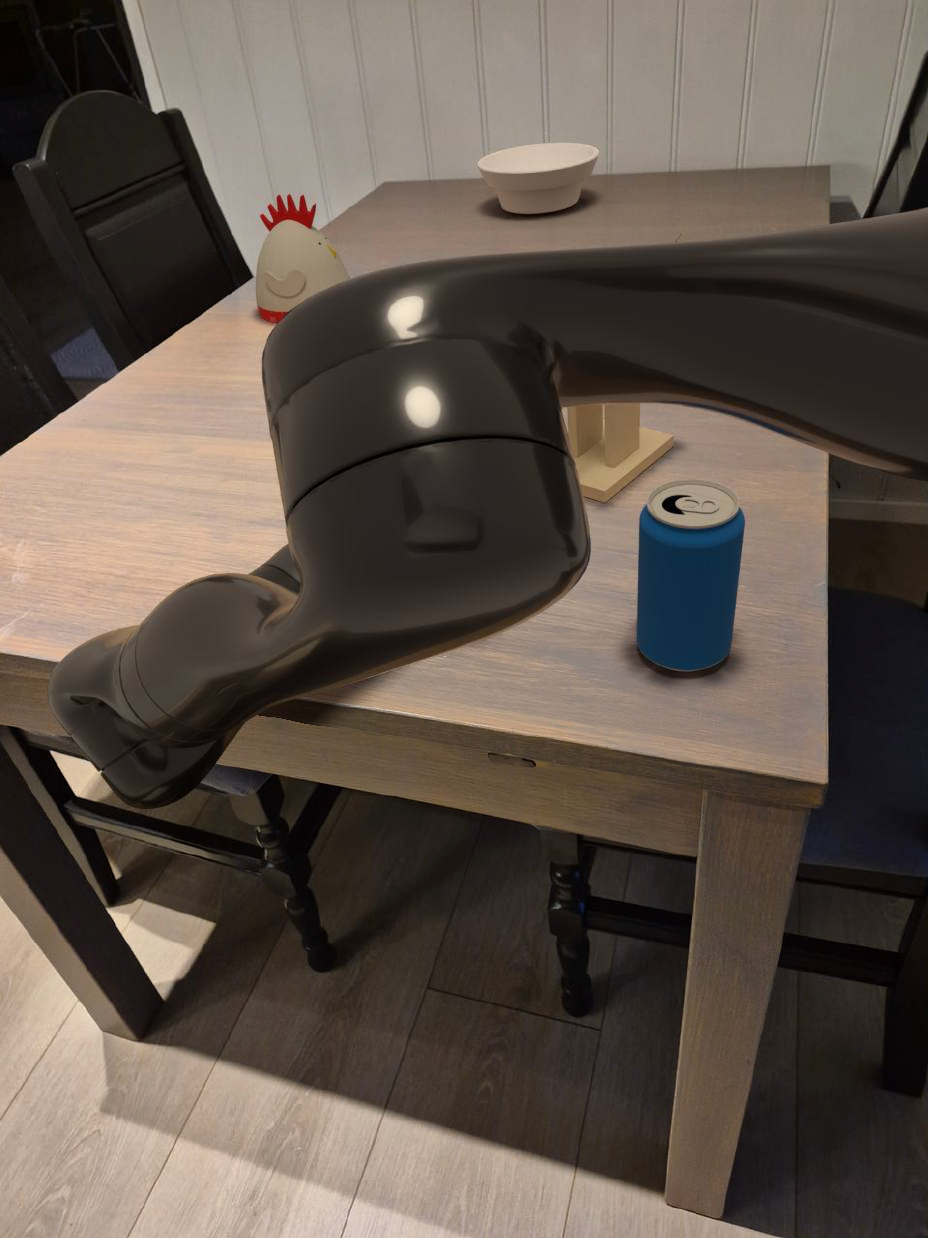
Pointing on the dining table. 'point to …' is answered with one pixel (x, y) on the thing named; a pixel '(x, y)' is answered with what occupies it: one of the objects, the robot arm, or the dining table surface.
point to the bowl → (539, 175)
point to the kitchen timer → (293, 260)
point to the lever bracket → (612, 447)
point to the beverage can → (688, 573)
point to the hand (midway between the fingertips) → (486, 472)
